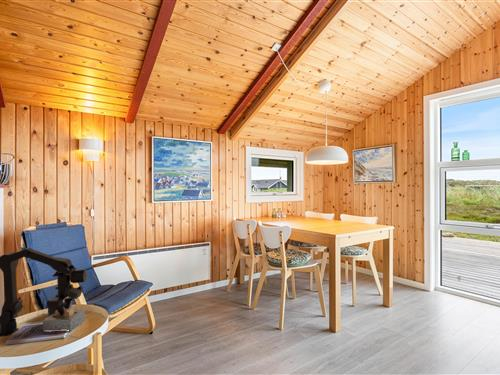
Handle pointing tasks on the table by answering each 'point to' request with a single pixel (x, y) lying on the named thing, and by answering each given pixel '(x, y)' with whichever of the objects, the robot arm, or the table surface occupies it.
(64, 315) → the tan rectangular block
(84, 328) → the table surface
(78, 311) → the grey slotted block
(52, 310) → the small box
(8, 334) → the robot arm
